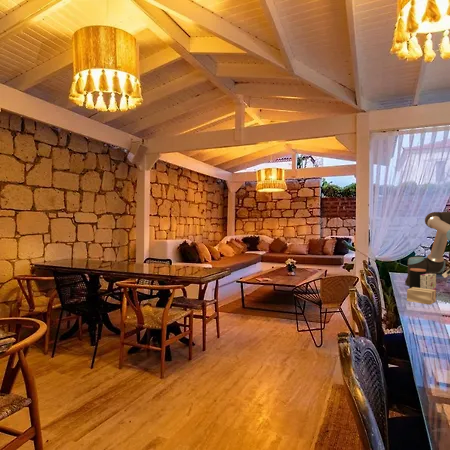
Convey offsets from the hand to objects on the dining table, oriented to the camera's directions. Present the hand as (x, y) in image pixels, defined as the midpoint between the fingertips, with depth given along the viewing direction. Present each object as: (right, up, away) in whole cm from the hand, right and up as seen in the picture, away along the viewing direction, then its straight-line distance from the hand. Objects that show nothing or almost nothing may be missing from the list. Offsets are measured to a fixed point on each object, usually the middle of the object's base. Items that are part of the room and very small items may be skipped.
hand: (445, 275), depth 238 cm
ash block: (-18, -17, -3) cm, 25 cm away
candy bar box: (-8, -17, +8) cm, 20 cm away
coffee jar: (-8, -17, +20) cm, 28 cm away
